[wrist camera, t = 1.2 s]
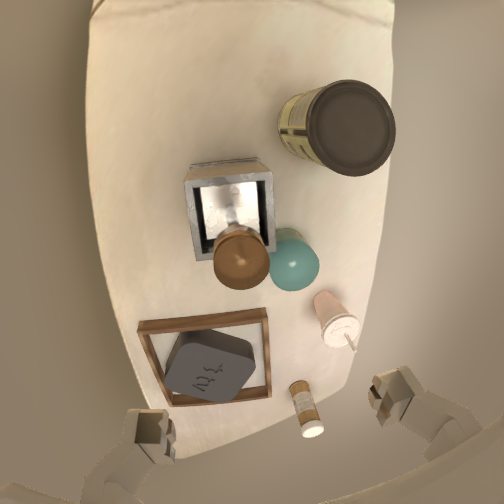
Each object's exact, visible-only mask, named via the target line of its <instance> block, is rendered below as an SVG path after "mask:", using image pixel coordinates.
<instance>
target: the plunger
mask: <svg viewBox="0 0 504 504" xmlns="http://www.w3.org/2000/svg"><path fill="white" fill-rule="evenodd" d="M200 190H201V198H202V205H203V213H204V220H205V227H206V234H207V239H215V238H216V239H215V242H214V247H213V258H214V272H215V275H216V277H217V278H218V280H219V281H220V282H221V283H222V284H224V285H225V286H227V287H229V288H232V289H236V290H245V289H250V288H252V287H255V286H257V285H258V284H260V283H261V282H262V281H263V280H264V279H265V277H266V276H267V274H268V272H269V269H270V258H269V255H268V253H267V250H266V248H265V245H264V243H263V241H262V238H261V236H260V235H259V233H260V230H259V216H258V202H257V188H256V181H248V182H238V183H229V184H220V185H212V186H204V187H200Z"/></svg>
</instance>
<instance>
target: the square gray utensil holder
mask: <svg viewBox="0 0 504 504" xmlns="http://www.w3.org/2000/svg"><path fill="white" fill-rule="evenodd" d="M248 181H256V188H257V202H258V216H259V230H260V233H259V235H260V236H261V238H262V241H263V243H264V245H265V248H266V250H267V253H269V252H276V234H275V214H274V195H273V178H272V171H271V170H269V169H268V168H267V167H266V166H264V165H263V164H262V163H260V161H259V158H246V159H235V160H226V161H217V162H208V163H200V164H193V165H190V171H189V173H188V175H187V176H186V178H185V180H184V187H185V194H186V201H187V208H188V214H189V221H190V227H191V233H192V240H193V246H194V252H195V257H196V261H203V260H211V259H214V258H213V247H214V242H215V239H216V238H215V239H207V234H206V227H205V220H204V213H203V205H202V198H201V190H200V187H204V186H212V185H220V184H229V183H238V182H248Z"/></svg>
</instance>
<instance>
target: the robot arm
mask: <svg viewBox="0 0 504 504" xmlns="http://www.w3.org/2000/svg"><path fill="white" fill-rule="evenodd" d="M372 382H373V385H372V386H371V387H370V389H369V392H368V397H369V402H370V404H371V407H372V408H373V409H375V410H377V415H376V417H377V419H378V421H379V422H380V425H381V427H382V428H383V427H386V426H389V425H392V424H394V423H397V422H400V423H401V424H402V425H404V426H405V427H407V428H408V429H410V430H411V431H413V432H414V433H416V434H417V435H419V436H420V437H422V438H423V439H425V440H426V441H428V442H429V443H430V444H429V445H428V446H427V447H426V449H425V450H424V452H423V455H424V457H425V459H426V461H427V463H426V464H424V465H422V466H420V467H418V468H416V469H414V470H412V471H410V472H407V473H405V474H403V475H401V476H399V477H396V478H394V479H391V480H389V481H386V482H384V483H382V484H379V485H377V486H374V487H371V488H368V489H366V490H363V491H360V492H357V493H353V494H350V495H347V496H344V497H341V498H337V499H334V500H330V501H327V502H323V503H319V504H504V414H503V415H502V416H500V417H499V418H498V419H497V420H495V421H494V422H492V423H491V424H490V425H488V426H487V427H486V428H484V429H482V427H481V425H480V424H479V423H478V421H477V420H476V418H475V417H474V415H473V414H472V412H471V411H470V409H468V408H466V407H463V406H461V405H459V404H457V403H454V402H452V401H450V400H448V399H446V398H443V397H441V396H439V395H437V394H435V393H433V392H430V391H425V390H424V388H423V387H422V385H421V384H420V382H419V381H418V379H417V378H416V377H415V375H414V374H413V372H412V371H411V369H410V368H409V367H408V366H403V367H400V368H397V369H393V370H390V371H387V372H384V373H381V374H378V375H375V376H374V377H373V380H372ZM175 441H176V432H175V426H174V423H173V421H172V420H171V419H169V414H168V412H167V410H166V409H157V410H156V409H129V410H128V411H127V414H126V419H125V424H124V430H123V435H122V441H121V443H117V444H116V445H115V446H114V447H113V448H112V449H111V450H110V451H109V452H108V453H107V454H106V455H105V457H104V458H103V459H102V460H101V461H100V462H99V463H98V464H97V465H96V466H95V467H94V468H93V469H92V470H91V471H90V472H89V473H88V474H87V475H86V476H85V477H84V482H83V488H82V494H81V500H80V504H144V503H143V502H142V501H141V500H139V499H138V498H136V497H135V496H134V494H135V492H136V491H137V490H138V488H139V487H140V485H141V484H142V483H143V481H144V480H145V478H146V477H147V475H148V474H149V473H150V471H151V470H152V469H153V467H154V466H155V464H175V449H174V447H173V446H172V445H173V443H174V442H175ZM0 504H78V503H75V502H71V501H67V500H64V499H61V498H57V497H54V496H51V495H48V494H45V493H42V492H39V491H37V490H34V489H31V488H29V487H26V486H24V485H21V484H19V483H16V482H9V483H8V484H6V485H4V486H3V487H1V488H0Z"/></svg>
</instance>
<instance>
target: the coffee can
mask: <svg viewBox="0 0 504 504" xmlns="http://www.w3.org/2000/svg"><path fill="white" fill-rule="evenodd" d="M278 131H279V135H280V138H281V141H282V142H283V144H284V145H285V146H286V148H287V149H288V150H289V151H290V152H292V153H293V154H294V155H296V156H298V157H300V158H303V159H307V160H310V161H312V162H315V163H318V164H320V165H323V166H325V167H328V168H329V169H331V170H333V171H335V172H337V173H339V174H342V175H346V176H354V177H356V176H363V175H366V174H369V173H371V172H373V171H375V170H376V169H378V168H379V167H380V166H382V165H383V164H384V162H385V161H386V160H387V158H388V157H389V155H390V153H391V151H392V148H393V146H394V142H395V135H396V127H395V121H394V116H393V113H392V111H391V108H390V106H389V105H388V103H387V101H386V100H385V98H384V97H383V96H382V95H381V94H380V93H379V92H378V91H377V90H376V89H374V88H373V87H371V86H370V85H368V84H366V83H363V82H361V81H357V80H340V81H336V82H333V83H331V84H329V85H327V86H324V87H321V88H318V89H315V90H312V91H309V92H306V93H303V94H299V95H296V96H295V97H293V98H291V99H290V100H289V101H288V102H287V103H286V104H285V105H284V107H283V108H282V110H281V112H280V114H279V119H278Z"/></svg>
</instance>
